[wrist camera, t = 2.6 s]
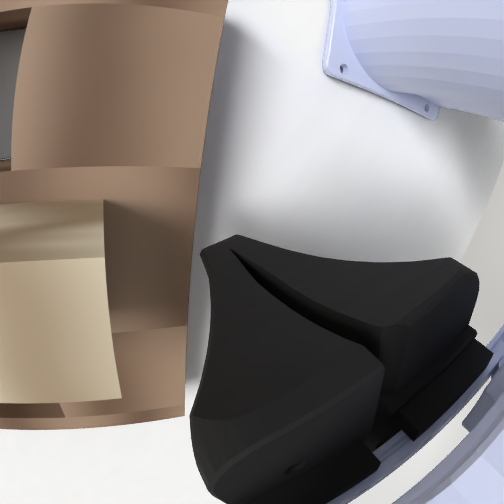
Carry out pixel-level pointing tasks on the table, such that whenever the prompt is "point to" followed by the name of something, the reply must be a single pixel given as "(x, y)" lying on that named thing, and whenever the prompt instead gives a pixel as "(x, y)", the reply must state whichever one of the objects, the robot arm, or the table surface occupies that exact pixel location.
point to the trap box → (115, 170)
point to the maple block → (54, 304)
